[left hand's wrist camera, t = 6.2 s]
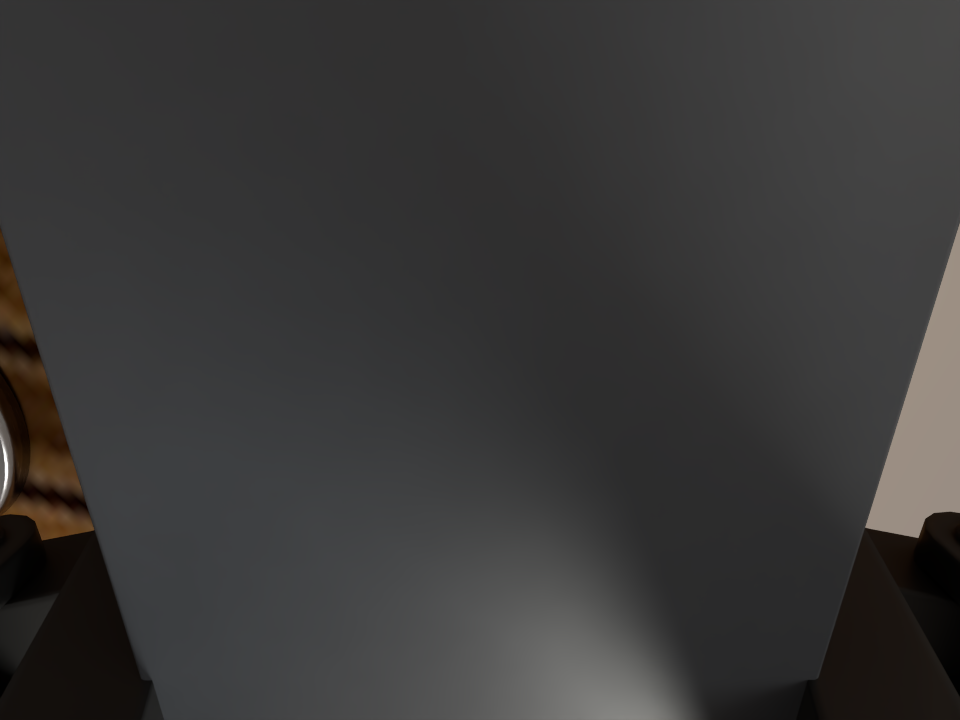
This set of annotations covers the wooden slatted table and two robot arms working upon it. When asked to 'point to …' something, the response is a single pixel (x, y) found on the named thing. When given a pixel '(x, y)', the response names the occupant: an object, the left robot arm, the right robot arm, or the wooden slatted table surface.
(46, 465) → the wooden slatted table surface
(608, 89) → the box
